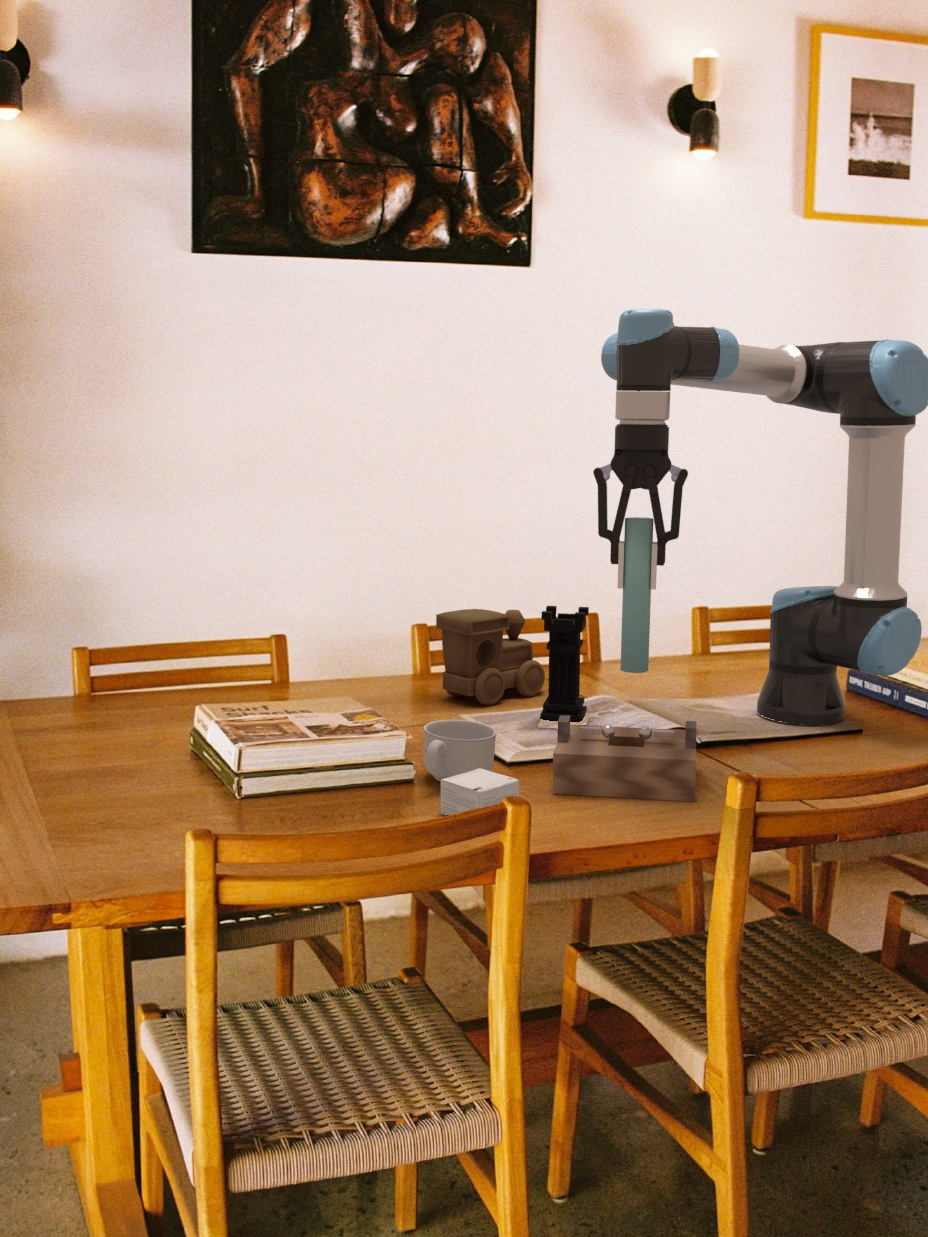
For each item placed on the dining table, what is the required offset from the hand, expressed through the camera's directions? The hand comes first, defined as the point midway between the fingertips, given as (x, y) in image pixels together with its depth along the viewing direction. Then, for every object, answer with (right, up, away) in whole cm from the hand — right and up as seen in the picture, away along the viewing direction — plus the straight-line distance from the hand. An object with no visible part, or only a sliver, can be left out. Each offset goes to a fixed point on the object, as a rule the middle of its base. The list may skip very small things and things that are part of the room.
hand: (636, 587), depth 180 cm
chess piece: (-8, -23, +37) cm, 45 cm away
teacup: (-26, -29, +5) cm, 39 cm away
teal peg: (0, -12, +2) cm, 12 cm away
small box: (-23, -31, -9) cm, 40 cm away
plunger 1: (-5, -22, +5) cm, 23 cm away
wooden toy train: (-19, -20, +56) cm, 63 cm away
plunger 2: (+3, -22, +3) cm, 23 cm away
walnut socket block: (-1, -28, +5) cm, 29 cm away
